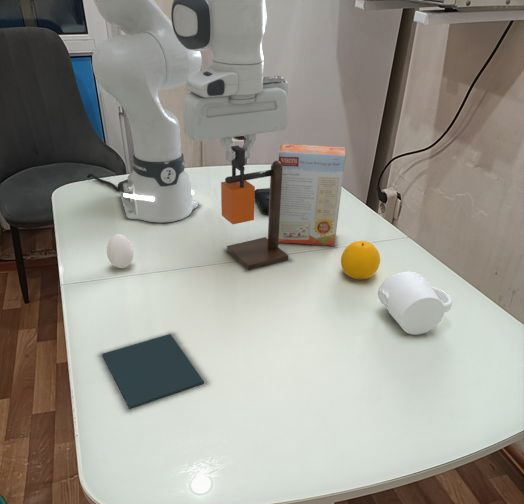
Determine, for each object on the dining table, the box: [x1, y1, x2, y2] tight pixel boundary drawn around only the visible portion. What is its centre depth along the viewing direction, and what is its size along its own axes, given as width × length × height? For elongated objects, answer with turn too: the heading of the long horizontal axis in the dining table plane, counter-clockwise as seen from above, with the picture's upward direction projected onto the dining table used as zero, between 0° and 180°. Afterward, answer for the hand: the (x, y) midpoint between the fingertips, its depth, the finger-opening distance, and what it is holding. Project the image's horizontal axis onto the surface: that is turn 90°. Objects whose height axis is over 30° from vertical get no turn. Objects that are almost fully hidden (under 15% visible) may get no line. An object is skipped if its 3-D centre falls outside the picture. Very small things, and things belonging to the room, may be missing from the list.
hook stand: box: [224, 160, 289, 271], centre depth 107 cm, size 10×13×20 cm
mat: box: [101, 333, 205, 409], centre depth 82 cm, size 14×12×1 cm
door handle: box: [255, 187, 270, 215], centre depth 135 cm, size 3×20×16 cm
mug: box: [377, 271, 453, 336], centre depth 93 cm, size 12×9×8 cm
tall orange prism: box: [220, 145, 256, 225], centre depth 101 cm, size 5×5×14 cm
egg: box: [106, 233, 135, 269], centre depth 105 cm, size 5×5×7 cm
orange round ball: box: [340, 240, 381, 280], centre depth 106 cm, size 8×8×8 cm
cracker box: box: [278, 143, 347, 247], centre depth 114 cm, size 14×6×21 cm, turn 84°
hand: (237, 159), depth 98 cm, fingers closed on tall orange prism
